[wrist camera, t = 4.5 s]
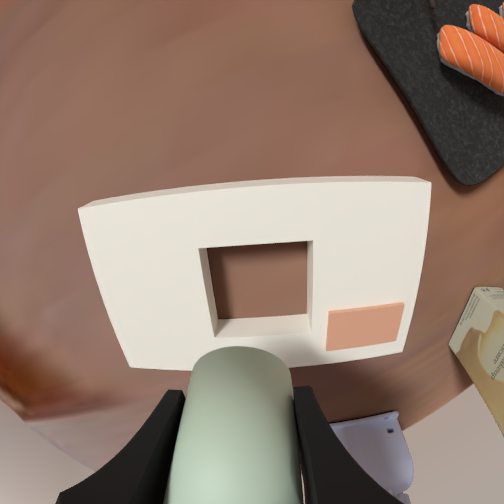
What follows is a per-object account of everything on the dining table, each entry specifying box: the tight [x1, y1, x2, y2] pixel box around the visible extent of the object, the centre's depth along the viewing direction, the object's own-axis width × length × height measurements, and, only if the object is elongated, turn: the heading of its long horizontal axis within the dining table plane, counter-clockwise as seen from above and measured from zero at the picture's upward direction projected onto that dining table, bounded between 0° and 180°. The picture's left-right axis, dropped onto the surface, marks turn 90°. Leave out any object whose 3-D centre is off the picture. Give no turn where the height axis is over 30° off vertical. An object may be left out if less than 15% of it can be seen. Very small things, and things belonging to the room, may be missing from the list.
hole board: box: [78, 176, 431, 370], centre depth 17 cm, size 20×12×2 cm, turn 95°
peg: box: [163, 346, 304, 504], centre depth 9 cm, size 4×4×7 cm
